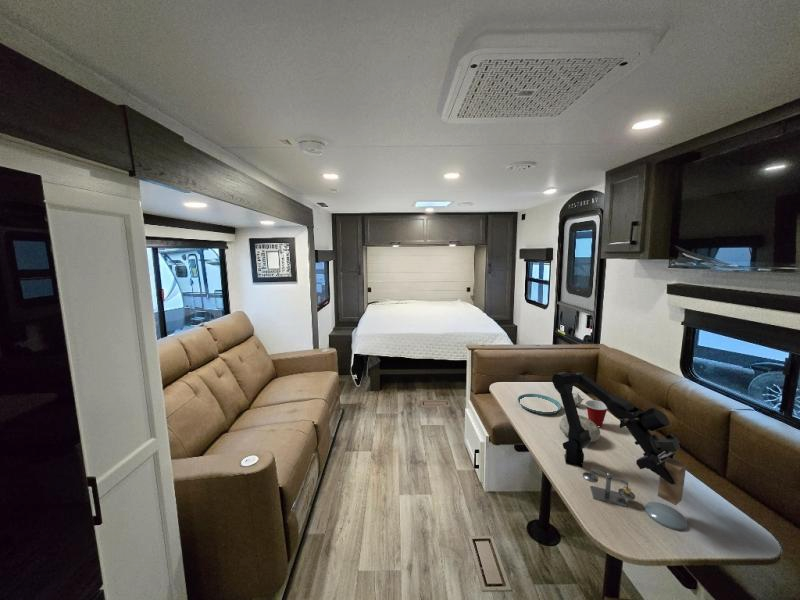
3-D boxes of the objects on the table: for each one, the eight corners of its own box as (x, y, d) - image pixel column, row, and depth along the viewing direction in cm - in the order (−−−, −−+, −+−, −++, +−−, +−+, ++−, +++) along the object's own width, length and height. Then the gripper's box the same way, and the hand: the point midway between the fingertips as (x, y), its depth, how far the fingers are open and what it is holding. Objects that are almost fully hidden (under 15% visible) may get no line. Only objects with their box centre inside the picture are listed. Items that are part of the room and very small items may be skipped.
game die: (574, 410, 194) (580, 395, 196) (582, 411, 185) (589, 396, 188) (561, 402, 195) (567, 388, 197) (569, 403, 186) (575, 388, 189)
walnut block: (657, 495, 109) (661, 461, 107) (663, 490, 111) (668, 456, 110) (675, 505, 105) (680, 469, 103) (681, 499, 107) (686, 464, 105)
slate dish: (651, 523, 105) (651, 521, 105) (640, 500, 115) (640, 498, 115) (693, 534, 101) (693, 531, 101) (678, 509, 111) (678, 507, 111)
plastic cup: (579, 420, 174) (580, 399, 173) (598, 419, 174) (600, 399, 173) (591, 430, 163) (593, 408, 162) (611, 430, 163) (613, 408, 162)
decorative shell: (599, 434, 159) (601, 416, 158) (599, 452, 145) (600, 431, 143) (560, 424, 169) (562, 407, 168) (556, 439, 154) (557, 420, 153)
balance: (582, 496, 117) (584, 471, 116) (580, 485, 123) (582, 461, 122) (636, 509, 111) (639, 483, 110) (631, 497, 116) (634, 472, 115)
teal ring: (508, 402, 196) (509, 397, 195) (536, 396, 206) (537, 391, 206) (540, 420, 174) (541, 414, 174) (570, 411, 184) (570, 406, 184)
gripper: (650, 435, 104) (689, 486, 96) (674, 421, 113) (712, 466, 105) (622, 445, 112) (655, 493, 103) (646, 431, 121) (679, 474, 113)
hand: (676, 481), depth 106 cm, fingers closed on walnut block, 5 cm apart
